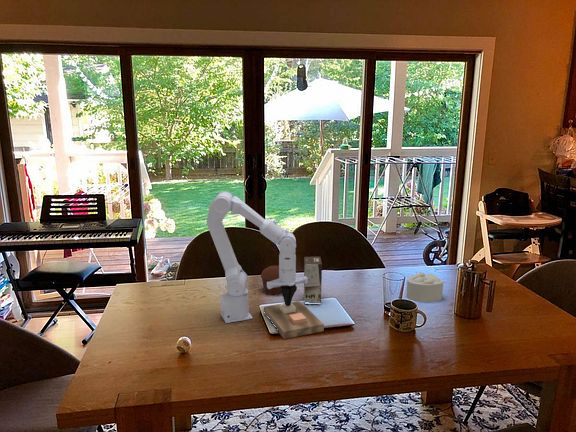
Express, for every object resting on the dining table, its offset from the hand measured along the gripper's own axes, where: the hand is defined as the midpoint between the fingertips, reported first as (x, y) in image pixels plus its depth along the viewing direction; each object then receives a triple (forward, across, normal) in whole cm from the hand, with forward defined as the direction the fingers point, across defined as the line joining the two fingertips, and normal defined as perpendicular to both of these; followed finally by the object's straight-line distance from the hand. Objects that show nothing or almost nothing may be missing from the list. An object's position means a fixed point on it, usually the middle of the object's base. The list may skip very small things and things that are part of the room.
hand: (287, 304), depth 157 cm
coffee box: (+5, +14, +10) cm, 18 cm away
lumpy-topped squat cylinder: (+5, +55, -4) cm, 55 cm away
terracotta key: (+3, 0, -9) cm, 9 cm away
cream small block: (+3, 0, 0) cm, 3 cm away
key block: (+4, 0, -4) cm, 6 cm away
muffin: (+5, +4, +24) cm, 24 cm away
